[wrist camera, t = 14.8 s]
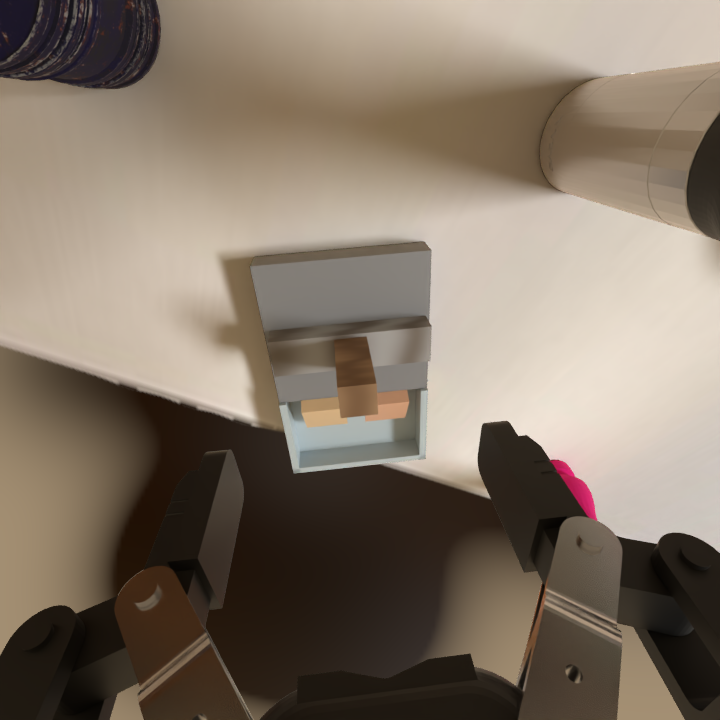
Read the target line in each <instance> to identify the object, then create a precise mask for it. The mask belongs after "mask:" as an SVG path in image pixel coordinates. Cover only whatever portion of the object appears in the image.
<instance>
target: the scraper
mask: <svg viewBox="0 0 720 720" xmlns="http://www.w3.org/2000/svg"><path fill="white" fill-rule="evenodd" d="M431 327H432V326H431V325H430V323H429V321H428V319H427V317H426V316H416V317H406V318H395V319H385V320H375V321H365V322H354V323H344V324H334V325H323V326H313V327H303V328H293V329H282V330H272V331H270V333H269V337H268V342H267V344H268V348H269V353H270V357H271V362H272V367H273V371H274V376H275V377H279V376H289V375H298V374H308V373H318V372H328V371H336V379H337V392H338V400H339V409H340V417H341V418H348V417H358V416H367V415H377V414H378V400H377V383H376V378H375V373H374V369H373V367H377V366H387V365H396V364H406V363H416V362H426V361H430V355H431Z"/></svg>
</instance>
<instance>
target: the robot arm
mask: <svg viewBox="0 0 720 720" xmlns="http://www.w3.org/2000/svg"><path fill="white" fill-rule="evenodd" d="M540 162H541V167H542V170H543V173H544V176H545V177H546V178H547V180H548V181H549V183H550V184H551V185H553V186H554V187H555V188H556V189H558V190H560V191H563V192H565V193H568V194H571V195H575V196H578V197H581V198H584V199H587V200H590V201H593V202H596V203H600V204H603V205H606V206H609V207H613V208H616V209H619V210H622V211H626V212H629V213H632V214H635V215H639V216H642V217H645V218H648V219H652V220H655V221H658V222H661V223H665V224H668V225H671V226H675V227H678V228H682V229H685V230H688V231H691V232H695V233H698V234H701V235H704V236H707V237H711V238H713V239H716V240H719V241H720V62H715V63H707V64H700V65H693V66H685V67H678V68H671V69H663V70H656V71H649V72H641V73H632V74H625V75H617V76H610V77H603V78H597V79H594V80H591V81H587V82H585V83H583V84H582V85H580V86H578V87H576V88H575V89H574V90H572V91H571V92H570V93H569V94H568V95H566V96H565V97H564V98H563V100H562V101H561V102H560V103H559V104H558V105H557V106H556V108H555V109H554V111H553V113H552V114H551V116H550V117H549V119H548V122H547V124H546V126H545V129H544V131H543V135H542V139H541V143H540ZM478 467H479V471H480V475H481V477H482V480H483V482H484V484H485V486H486V488H487V491H488V493H489V495H490V497H491V500H492V502H493V504H494V506H495V508H496V511H497V513H498V515H499V518H500V520H501V522H502V524H503V526H504V529H505V531H506V533H507V535H508V538H509V540H510V542H511V544H512V547H513V549H514V551H515V553H516V555H517V558H518V560H519V562H520V564H521V567H522V569H523V571H524V572H533V571H538V574H539V576H540V578H541V580H542V584H541V588H540V592H539V596H538V600H537V604H536V608H535V612H534V616H533V621H532V625H531V629H530V633H529V637H528V641H527V645H526V649H525V653H524V657H523V660H522V664H521V668H520V671H519V674H518V678H517V683H516V686H515V685H514V684H512V683H511V682H509V681H508V680H506V679H504V678H503V677H501V676H499V675H497V674H495V673H493V672H490V671H487V670H484V669H481V668H477V667H474V665H473V661H472V658H471V654H464V655H457V656H449V657H441V658H434V659H428V660H426V661H424V662H422V663H419V664H417V665H415V666H413V667H411V668H409V669H407V670H405V671H403V672H401V673H399V674H396V675H394V676H392V677H390V678H386V679H384V678H377V677H372V676H366V675H361V674H355V673H350V672H345V671H334V672H327V673H319V674H311V675H304V676H298V682H297V690H296V691H294V692H292V693H290V694H289V695H287V696H286V697H284V698H283V699H281V700H280V701H278V702H277V703H276V704H275V705H274V706H273V707H271V708H270V709H269V710H268V711H267V712H266V713H265V714H264V715H263V716H262V717H261V719H260V720H617V712H618V698H619V684H620V669H621V655H622V633H621V631H620V630H618V629H617V623H619V624H623V625H628V626H632V627H634V629H635V631H636V632H637V634H638V636H639V638H640V639H641V641H642V643H643V645H644V647H645V649H646V650H647V652H648V654H649V656H650V658H651V659H652V661H653V663H654V664H655V666H656V668H657V670H658V672H659V674H660V676H661V677H662V679H663V681H664V683H665V684H666V686H667V688H668V690H669V692H670V694H671V695H672V697H673V699H674V701H675V703H676V704H677V706H678V708H679V710H680V711H681V713H682V715H683V717H684V719H685V720H720V553H719V552H718V551H716V550H715V549H714V548H713V547H711V546H710V545H709V544H707V543H705V542H704V541H702V540H700V539H698V538H696V537H693V536H691V535H687V534H683V533H669V534H666V535H664V536H663V537H661V539H660V540H659V542H658V544H654V543H648V542H643V541H637V540H631V539H626V538H622V537H618V536H616V535H615V534H614V533H613V532H612V531H611V530H610V529H609V528H608V527H606V526H605V525H604V524H602V523H600V522H598V521H596V520H594V519H591V518H589V517H588V516H587V514H586V513H585V512H584V510H583V509H582V507H581V506H580V504H579V503H578V501H577V500H576V498H575V497H574V495H573V494H572V492H571V491H570V489H569V488H568V486H567V485H566V483H565V482H564V480H563V479H562V477H561V476H560V474H559V473H557V470H556V468H555V467H554V465H553V464H552V462H550V459H549V458H548V456H547V455H546V453H545V452H544V450H543V449H542V447H541V446H540V445H539V444H537V443H536V442H535V441H533V440H532V439H531V438H529V437H528V436H527V435H525V436H518V435H517V434H516V432H515V430H514V429H513V427H512V426H511V424H510V423H509V422H508V421H501V422H491V423H484V424H483V425H482V429H481V436H480V444H479V451H478ZM243 499H244V490H243V483H242V480H241V476H240V473H239V471H238V467H237V464H236V461H235V458H234V455H233V452H232V451H231V450H223V451H214V452H206V453H205V454H204V456H203V459H202V462H201V465H200V467H199V470H196V471H189V472H188V473H187V474H186V475H185V476H184V478H183V479H182V480H181V481H180V482H179V483H178V485H177V486H176V489H175V491H174V494H173V496H172V499H171V504H169V507H168V509H167V512H166V517H164V520H163V522H162V525H161V527H160V530H159V532H158V535H157V537H156V540H155V543H154V545H153V548H152V550H151V553H150V556H149V558H148V561H147V563H146V565H145V568H144V570H143V571H141V572H139V573H138V574H136V575H135V576H134V577H132V578H131V579H130V580H129V581H128V582H127V583H126V584H125V586H124V587H123V588H122V590H121V591H120V593H119V595H117V596H116V597H114V598H111V599H109V600H107V601H105V602H102V603H100V604H98V605H95V606H93V607H91V608H88V609H86V610H84V611H81V612H79V613H75V612H74V611H73V610H72V609H71V608H70V607H67V606H62V605H59V606H53V607H49V608H47V609H44V610H42V611H40V612H38V613H37V614H35V615H34V616H32V617H31V618H29V619H28V620H27V621H26V622H25V623H23V624H22V625H21V626H20V627H19V628H18V629H17V630H16V632H15V633H14V634H13V635H12V637H11V638H10V639H9V641H8V643H7V644H6V646H5V648H4V650H3V652H2V654H1V655H0V720H110V716H111V713H112V710H113V706H114V703H115V700H116V697H117V693H119V692H121V691H123V690H125V689H127V688H129V687H131V686H133V685H135V684H137V683H139V687H140V692H139V693H138V702H139V706H140V710H141V713H142V716H143V719H144V720H253V718H252V716H251V714H250V712H249V710H248V709H247V706H246V704H245V703H244V701H243V699H242V697H241V695H240V693H239V691H238V689H237V688H236V686H235V684H234V682H233V680H232V678H231V676H230V674H229V672H228V670H227V668H226V666H225V665H224V663H223V661H222V659H221V657H220V655H219V653H218V651H217V649H216V647H215V645H214V643H213V642H212V640H211V638H210V636H209V634H208V632H207V630H206V628H205V624H206V620H207V615H208V611H209V610H212V609H221V608H222V606H223V601H224V596H225V591H226V585H227V581H228V576H229V570H230V566H231V560H232V556H233V551H234V546H235V540H236V535H237V531H238V525H239V520H240V515H241V510H242V505H243Z"/></svg>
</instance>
